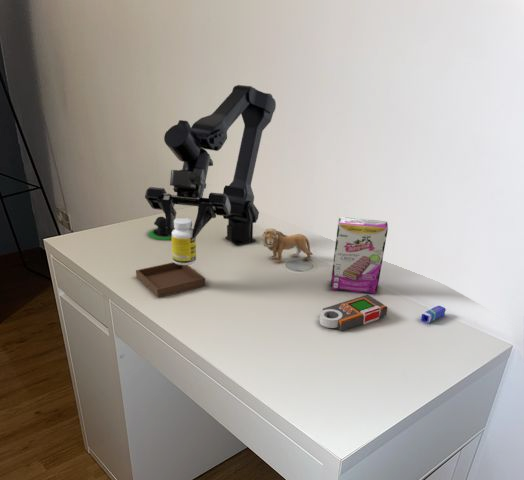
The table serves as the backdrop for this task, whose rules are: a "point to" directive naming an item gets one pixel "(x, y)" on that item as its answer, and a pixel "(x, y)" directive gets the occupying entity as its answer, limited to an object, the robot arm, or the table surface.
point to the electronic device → (352, 313)
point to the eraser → (433, 314)
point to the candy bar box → (358, 254)
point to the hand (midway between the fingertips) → (181, 236)
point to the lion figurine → (285, 243)
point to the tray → (170, 278)
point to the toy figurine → (160, 230)
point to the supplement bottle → (183, 242)
